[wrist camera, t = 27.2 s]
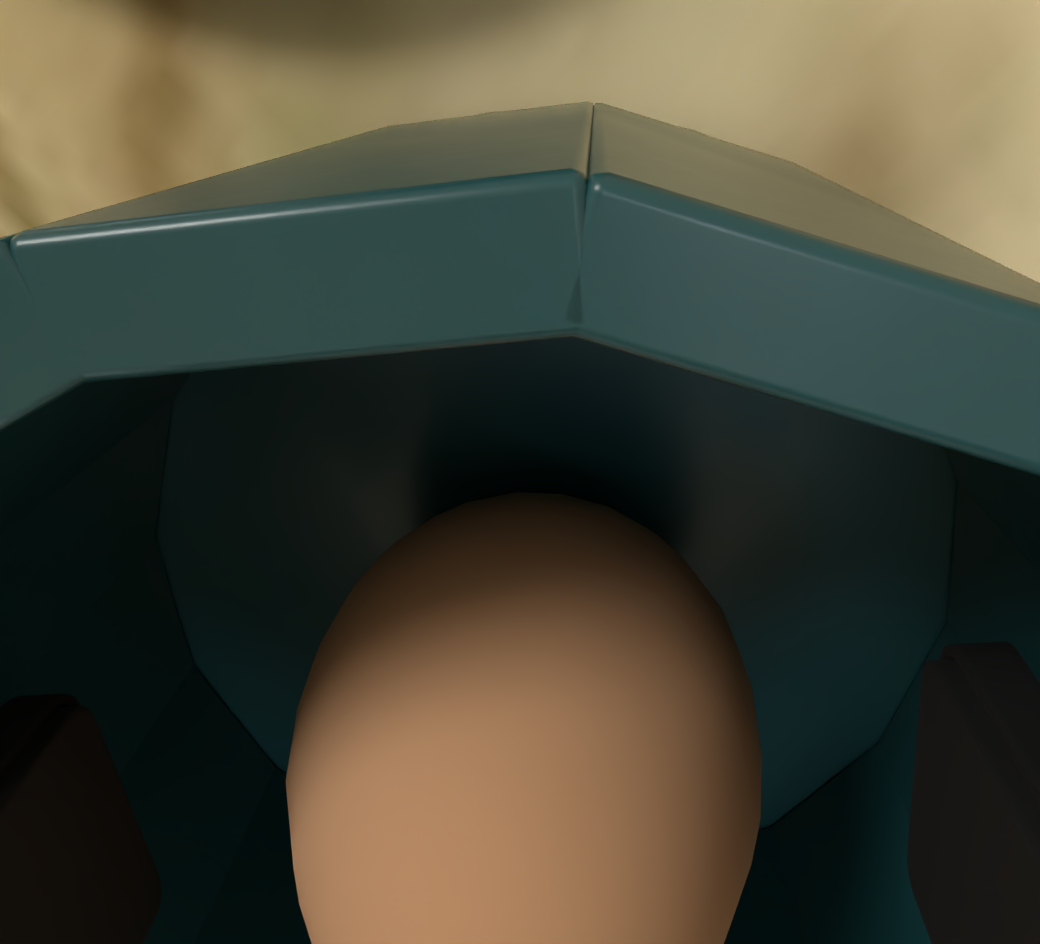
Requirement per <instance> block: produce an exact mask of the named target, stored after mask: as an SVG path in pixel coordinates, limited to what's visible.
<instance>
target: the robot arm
mask: <svg viewBox="0 0 1040 944" xmlns="http://www.w3.org/2000/svg"><path fill="white" fill-rule="evenodd" d="M907 865H908V873H909V879H910V883H911V888H912V891H913V894H914V897H915V900H916V903H917V905H918V908H919V911H920V913H921V916H922V919H923V921H924V924H925V927H926V930H927V932H928V935H929V938H930V940H931V943H932V944H1040V683H1039V682H1038V680H1037V679H1036V678H1035V676H1034V675H1033V673H1032V672H1031V670H1030V669H1029V667H1028V666H1027V664H1026V663H1025V661H1024V660H1023V658H1022V657H1021V655H1020V654H1019V653H1018V651H1017V650H1016V649H1015V648H1014V646H1013V645H1012V644H1011V643H1008V642H1006V641H1002V642H984V643H966V644H948V645H946V646H944V648H943V650H942V652H941V657H940V660H931V661H926V662H925V663H924V665H923V669H922V677H921V689H920V702H919V714H918V726H917V739H916V751H915V763H914V775H913V788H912V800H911V812H910V824H909V837H908V849H907ZM161 892H162V889H161V881H160V877H159V874H158V872H157V869H156V867H155V864H154V862H153V859H152V857H151V854H150V852H149V849H148V847H147V844H146V842H145V840H144V837H143V835H142V832H141V830H140V827H139V825H138V822H137V820H136V817H135V815H134V812H133V810H132V807H131V805H130V803H129V800H128V798H127V795H126V793H125V790H124V788H123V785H122V783H121V780H120V778H119V775H118V773H117V770H116V768H115V765H114V763H113V761H112V758H111V756H110V753H109V751H108V748H107V746H106V743H105V741H104V738H103V736H102V733H101V731H100V728H99V726H98V723H97V721H96V719H95V716H94V715H93V713H92V711H91V710H90V709H89V708H87V707H84V706H81V705H80V704H79V702H78V700H77V699H76V698H74V697H73V696H72V695H69V694H47V695H29V696H17V697H14V698H12V699H10V700H9V701H7V702H6V703H5V704H4V705H3V706H2V707H1V708H0V944H143V942H144V940H145V938H146V936H147V934H148V932H149V930H150V928H151V926H152V924H153V921H154V919H155V917H156V915H157V912H158V910H159V906H160V902H161Z"/></svg>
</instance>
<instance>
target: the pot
mask: <svg viewBox="0 0 1040 944" xmlns="http://www.w3.org/2000/svg"><path fill="white" fill-rule="evenodd" d="M516 492H521V493H550V494H564V495H568V496H572V497H575V498H579V499H582V500H586V501H590V502H593V503H597V504H600V505H604V506H608V507H610V508H612V509H614V510H616V511H617V512H619V513H621V514H623V515H624V516H626V517H628V518H630V519H632V520H633V521H635V522H637V523H639V524H640V525H642V526H644V527H646V528H647V529H649V530H651V531H652V532H654V533H655V534H656V535H658V536H659V537H660V538H662V539H663V540H664V541H665V542H666V543H667V544H668V545H669V546H670V547H672V548H673V549H674V550H675V551H676V552H677V553H678V554H679V555H680V556H681V557H683V558H684V559H685V561H686V562H687V563H688V565H689V566H690V567H691V568H692V570H693V571H694V572H695V574H696V575H697V576H698V578H699V579H700V580H701V582H702V583H703V584H704V586H705V587H706V588H707V590H708V591H709V592H710V594H711V595H712V596H713V598H714V599H715V600H716V602H717V603H718V605H719V606H720V607H721V609H722V610H723V612H724V615H725V617H726V620H727V622H728V625H729V627H730V630H731V632H732V635H733V637H734V640H735V642H736V645H737V647H738V650H739V652H740V655H741V658H742V660H743V663H744V666H745V669H746V672H747V675H748V678H749V680H750V683H751V686H752V692H753V699H754V706H755V713H756V719H757V726H758V733H759V740H760V746H761V753H762V782H761V818H760V824H759V829H758V834H757V839H756V844H755V849H754V854H753V859H752V864H751V867H750V870H749V873H748V876H747V879H746V882H745V885H744V888H743V890H742V893H741V896H740V899H739V902H738V905H737V908H736V911H735V914H734V917H733V919H732V922H731V925H730V928H729V931H728V933H727V936H726V939H725V942H724V944H932V943H931V940H930V938H929V935H928V932H927V930H926V927H925V924H924V921H923V919H922V916H921V913H920V911H919V908H918V905H917V903H916V900H915V897H914V894H913V891H912V888H911V883H910V879H909V873H908V865H907V849H908V837H909V824H910V812H911V800H912V788H913V775H914V763H915V751H916V739H917V726H918V714H919V702H920V689H921V677H922V669H923V665H924V663H925V662H926V661H931V660H940V657H941V652H942V650H943V648H944V646H946V645H948V644H966V643H984V642H1002V641H1006V642H1008V643H1011V644H1012V645H1013V646H1014V648H1015V649H1016V650H1017V651H1018V653H1019V654H1020V655H1021V657H1022V658H1023V660H1024V661H1025V663H1026V664H1027V666H1028V667H1029V669H1030V670H1031V672H1032V673H1033V675H1034V676H1035V678H1036V679H1037V680H1038V682H1039V683H1040V283H1038V282H1036V281H1034V280H1032V279H1030V278H1028V277H1026V276H1024V275H1022V274H1020V273H1018V272H1015V271H1013V270H1011V269H1009V268H1007V267H1005V266H1003V265H1001V264H999V263H997V262H995V261H993V260H991V259H989V258H987V257H985V256H983V255H981V254H979V253H977V252H975V251H973V250H971V249H969V248H967V247H964V246H962V245H960V244H958V243H956V242H954V241H952V240H950V239H948V238H946V237H944V236H942V235H940V234H938V233H936V232H934V231H932V230H930V229H928V228H926V227H924V226H922V225H920V224H918V223H915V222H913V221H911V220H909V219H907V218H905V217H903V216H901V215H899V214H897V213H895V212H893V211H891V210H889V209H887V208H885V207H883V206H881V205H879V204H877V203H875V202H873V201H871V200H869V199H867V198H864V197H862V196H860V195H858V194H856V193H854V192H852V191H850V190H848V189H846V188H844V187H842V186H840V185H838V184H836V183H834V182H832V181H830V180H828V179H826V178H824V177H822V176H820V175H818V174H816V173H813V172H811V171H809V170H807V169H805V168H803V167H801V166H799V165H797V164H795V163H793V162H790V161H787V160H783V159H780V158H777V157H774V156H770V155H767V154H764V153H761V152H758V151H754V150H751V149H748V148H745V147H741V146H738V145H735V144H732V143H728V142H725V141H722V140H719V139H716V138H712V137H709V136H707V135H704V134H702V133H699V132H697V131H694V130H690V129H686V128H681V127H677V126H674V125H670V124H667V123H664V122H661V121H657V120H654V119H651V118H648V117H645V116H641V115H638V114H635V113H632V112H628V111H625V110H622V109H619V108H615V107H612V106H609V105H606V104H603V103H598V104H595V105H593V103H590V102H581V103H573V104H565V105H556V106H548V107H540V108H532V109H524V110H516V111H506V112H490V113H485V114H480V115H474V116H467V117H459V118H451V119H442V120H434V121H426V122H418V123H410V124H402V125H394V126H387V127H384V128H380V129H377V130H373V131H370V132H366V133H363V134H359V135H356V136H352V137H349V138H345V139H342V140H338V141H335V142H331V143H328V144H324V145H321V146H317V147H314V148H310V149H307V150H303V151H300V152H296V153H293V154H289V155H286V156H282V157H279V158H275V159H272V160H269V161H265V162H262V163H258V164H255V165H251V166H248V167H244V168H241V169H237V170H234V171H230V172H227V173H223V174H220V175H216V176H213V177H209V178H206V179H202V180H199V181H195V182H192V183H188V184H185V185H181V186H178V187H174V188H171V189H167V190H164V191H160V192H157V193H153V194H150V195H146V196H143V197H139V198H136V199H132V200H129V201H125V202H122V203H118V204H115V205H111V206H108V207H104V208H101V209H97V210H94V211H91V212H87V213H84V214H80V215H77V216H73V217H70V218H66V219H63V220H59V221H56V222H52V223H49V224H45V225H42V226H38V227H35V228H31V229H28V230H24V231H22V232H19V233H16V234H12V235H9V236H5V237H2V238H0V708H1V707H2V706H3V705H4V704H5V703H6V702H7V701H9V700H10V699H12V698H14V697H17V696H29V695H47V694H69V695H72V696H73V697H74V698H76V699H77V700H78V702H79V704H80V705H81V706H84V707H87V708H89V709H90V710H91V711H92V713H93V715H94V716H95V719H96V721H97V723H98V726H99V728H100V731H101V733H102V736H103V738H104V741H105V743H106V746H107V748H108V751H109V753H110V756H111V758H112V761H113V763H114V765H115V768H116V770H117V773H118V775H119V778H120V780H121V783H122V785H123V788H124V790H125V793H126V795H127V798H128V800H129V803H130V805H131V807H132V810H133V812H134V815H135V817H136V820H137V822H138V825H139V827H140V830H141V832H142V835H143V837H144V840H145V842H146V844H147V847H148V849H149V852H150V854H151V857H152V859H153V862H154V864H155V867H156V869H157V872H158V874H159V877H160V881H161V889H162V892H161V902H160V906H159V910H158V912H157V915H156V917H155V919H154V921H153V924H152V926H151V928H150V930H149V932H148V934H147V936H146V938H145V940H144V942H143V944H312V943H311V940H310V937H309V934H308V930H307V927H306V924H305V921H304V918H303V915H302V911H301V908H300V905H299V900H298V893H297V887H296V881H295V875H294V869H293V858H292V847H291V835H290V824H289V813H288V802H287V791H286V776H287V770H288V763H289V757H290V751H291V744H292V738H293V732H294V725H295V719H296V713H297V708H298V705H299V702H300V699H301V696H302V693H303V690H304V687H305V684H306V681H307V678H308V675H309V672H310V670H311V667H312V664H313V661H314V659H315V656H316V653H317V651H318V648H319V645H320V643H321V641H322V639H323V638H324V636H325V634H326V632H327V631H328V629H329V627H330V625H331V624H332V622H333V620H334V619H335V617H336V615H337V613H338V612H339V610H340V608H341V606H342V605H343V603H344V601H345V600H346V598H347V597H348V595H349V594H350V592H351V591H352V589H353V588H354V586H355V585H356V584H357V583H358V581H359V580H360V579H361V578H362V577H363V575H364V574H365V573H366V572H367V571H368V570H369V568H370V567H371V566H372V565H373V564H374V562H375V561H376V560H377V559H378V558H379V557H380V556H381V555H382V554H383V553H384V552H385V551H386V550H387V549H388V548H390V547H391V546H392V545H393V544H394V543H395V542H397V541H398V540H400V539H401V538H403V537H404V536H406V535H407V534H409V533H410V532H412V531H413V530H415V529H416V528H418V527H419V526H421V525H422V524H424V523H425V522H427V521H428V520H430V519H431V518H433V517H434V516H436V515H439V514H441V513H443V512H446V511H448V510H450V509H452V508H455V507H457V506H459V505H462V504H464V503H466V502H470V501H475V500H480V499H485V498H490V497H496V496H501V495H506V494H511V493H516Z"/></svg>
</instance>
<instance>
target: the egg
mask: <svg viewBox="0 0 1040 944" xmlns="http://www.w3.org/2000/svg"><path fill="white" fill-rule="evenodd" d="M761 782H762V753H761V746H760V740H759V733H758V726H757V719H756V713H755V706H754V699H753V692H752V686H751V683H750V680H749V678H748V675H747V672H746V669H745V666H744V663H743V660H742V658H741V655H740V652H739V650H738V647H737V645H736V642H735V640H734V637H733V635H732V632H731V630H730V627H729V625H728V622H727V620H726V617H725V615H724V612H723V610H722V609H721V607H720V606H719V605H718V603H717V602H716V600H715V599H714V598H713V596H712V595H711V594H710V592H709V591H708V590H707V588H706V587H705V586H704V584H703V583H702V582H701V580H700V579H699V578H698V576H697V575H696V574H695V572H694V571H693V570H692V568H691V567H690V566H689V565H688V563H687V562H686V561H685V559H684V558H683V557H681V556H680V555H679V554H678V553H677V552H676V551H675V550H674V549H673V548H672V547H670V546H669V545H668V544H667V543H666V542H665V541H664V540H663V539H662V538H660V537H659V536H658V535H656V534H655V533H654V532H652V531H651V530H649V529H647V528H646V527H644V526H642V525H640V524H639V523H637V522H635V521H633V520H632V519H630V518H628V517H626V516H624V515H623V514H621V513H619V512H617V511H616V510H614V509H612V508H610V507H608V506H604V505H600V504H597V503H593V502H590V501H586V500H582V499H579V498H575V497H572V496H568V495H564V494H550V493H521V492H516V493H511V494H506V495H501V496H496V497H490V498H485V499H480V500H475V501H470V502H466V503H464V504H462V505H459V506H457V507H455V508H452V509H450V510H448V511H446V512H443V513H441V514H439V515H436V516H434V517H433V518H431V519H430V520H428V521H427V522H425V523H424V524H422V525H421V526H419V527H418V528H416V529H415V530H413V531H412V532H410V533H409V534H407V535H406V536H404V537H403V538H401V539H400V540H398V541H397V542H395V543H394V544H393V545H392V546H391V547H390V548H388V549H387V550H386V551H385V552H384V553H383V554H382V555H381V556H380V557H379V558H378V559H377V560H376V561H375V562H374V564H373V565H372V566H371V567H370V568H369V570H368V571H367V572H366V573H365V574H364V575H363V577H362V578H361V579H360V580H359V581H358V583H357V584H356V585H355V586H354V588H353V589H352V591H351V592H350V594H349V595H348V597H347V598H346V600H345V601H344V603H343V605H342V606H341V608H340V610H339V612H338V613H337V615H336V617H335V619H334V620H333V622H332V624H331V625H330V627H329V629H328V631H327V632H326V634H325V636H324V638H323V639H322V641H321V643H320V645H319V648H318V651H317V653H316V656H315V659H314V661H313V664H312V667H311V670H310V672H309V675H308V678H307V681H306V684H305V687H304V690H303V693H302V696H301V699H300V702H299V705H298V708H297V713H296V719H295V725H294V732H293V738H292V744H291V751H290V757H289V763H288V770H287V776H286V791H287V802H288V813H289V824H290V835H291V847H292V858H293V869H294V875H295V881H296V887H297V893H298V900H299V905H300V908H301V911H302V915H303V918H304V921H305V924H306V927H307V930H308V934H309V937H310V940H311V943H312V944H724V942H725V939H726V936H727V933H728V931H729V928H730V925H731V922H732V919H733V917H734V914H735V911H736V908H737V905H738V902H739V899H740V896H741V893H742V890H743V888H744V885H745V882H746V879H747V876H748V873H749V870H750V867H751V864H752V859H753V854H754V849H755V844H756V839H757V834H758V829H759V824H760V818H761Z"/></svg>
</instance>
